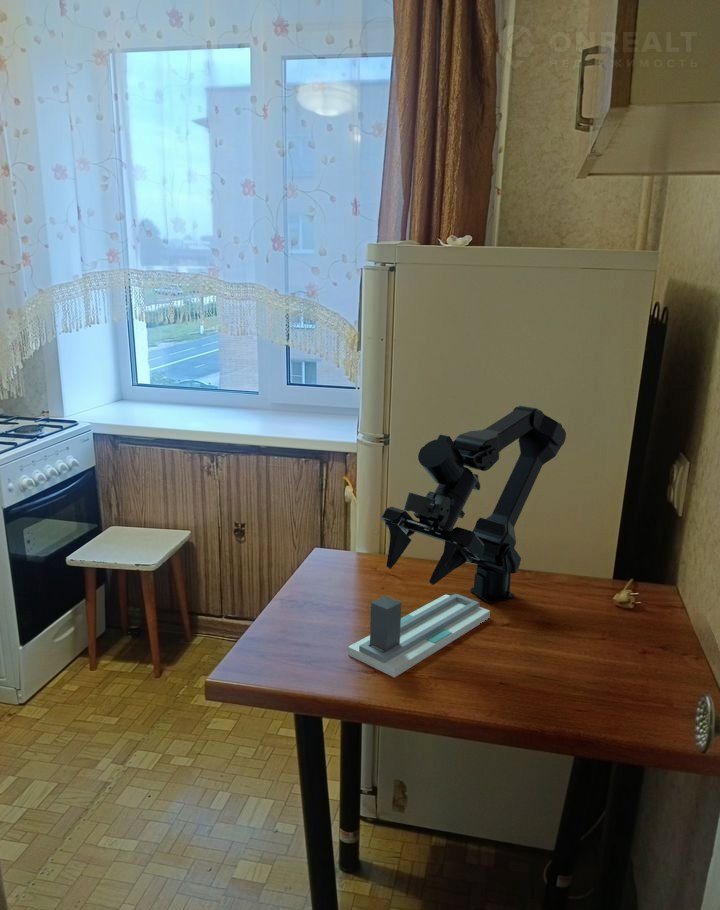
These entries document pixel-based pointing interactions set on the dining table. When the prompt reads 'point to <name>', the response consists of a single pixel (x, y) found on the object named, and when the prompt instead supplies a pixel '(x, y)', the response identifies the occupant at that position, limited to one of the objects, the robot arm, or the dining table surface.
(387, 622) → the fader
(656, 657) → the dining table surface
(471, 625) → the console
